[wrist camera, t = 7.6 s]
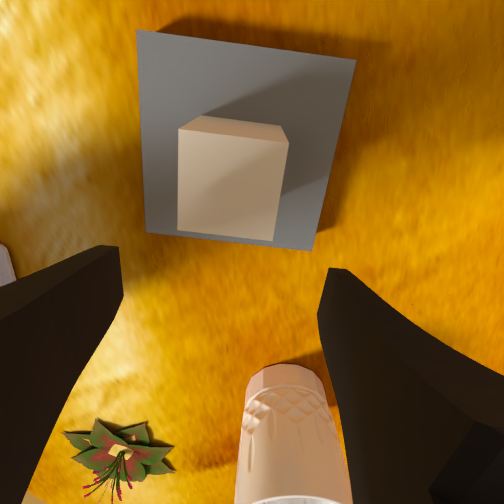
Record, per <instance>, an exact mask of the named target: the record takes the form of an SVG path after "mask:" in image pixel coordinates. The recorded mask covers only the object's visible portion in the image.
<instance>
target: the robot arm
mask: <svg viewBox="0 0 504 504" xmlns="http://www.w3.org/2000/svg"><path fill="white" fill-rule="evenodd" d="M123 297H124V294H123V285H122V276H121V266H120V257H119V248H118V247H116V246H105V245H99V246H96V247H93V248H90V249H88V250H85V251H83V252H81V253H79V254H76V255H74V256H72V257H70V258H67V259H65V260H63V261H61V262H58V263H56V264H54V265H52V266H50V267H47V268H45V269H43V270H40V271H38V272H35V273H33V274H31V275H28V276H26V277H23V278H21V279H18V280H16V277H15V273H14V270H13V266H12V263H11V259H10V256H9V252H8V250H7V248H6V247H5V246H4V245H2V244H0V504H21V503H22V501H23V498H24V495H25V493H26V491H27V488H28V486H29V484H30V481H31V479H32V476H33V474H34V472H35V469H36V467H37V464H38V462H39V460H40V457H41V455H42V453H43V450H44V448H45V446H46V444H47V441H48V439H49V437H50V435H51V433H52V430H53V428H54V426H55V424H56V421H57V419H58V417H59V415H60V413H61V411H62V409H63V407H64V405H65V403H66V401H67V398H68V396H69V394H70V392H71V390H72V388H73V387H74V385H75V383H76V381H77V379H78V378H79V376H80V374H81V373H82V371H83V369H84V368H85V366H86V365H87V363H88V361H89V360H90V358H91V356H92V355H93V353H94V352H95V350H96V348H97V347H98V345H99V344H100V342H101V340H102V339H103V337H104V335H105V334H106V332H107V330H108V329H109V327H110V325H111V324H112V322H113V320H114V318H115V316H116V313H117V311H118V309H119V306H120V304H121V302H122V299H123ZM317 319H318V328H319V335H320V341H321V345H322V348H323V352H324V356H325V360H326V363H327V367H328V370H329V374H330V378H331V381H332V385H333V388H334V392H335V396H336V400H337V404H338V408H339V413H340V419H341V425H342V431H343V437H344V443H345V450H346V456H347V463H348V470H349V477H350V485H351V493H352V501H353V504H504V376H503V375H501V374H499V373H497V372H495V371H493V370H491V369H489V368H487V367H485V366H483V365H481V364H479V363H478V362H476V361H474V360H472V359H470V358H469V357H467V356H465V355H463V354H461V353H460V352H458V351H456V350H454V349H453V348H451V347H449V346H448V345H446V344H444V343H443V342H441V341H440V340H438V339H436V338H435V337H433V336H432V335H430V334H429V333H427V332H426V331H424V330H423V329H421V328H420V327H418V326H417V325H415V324H414V323H413V322H411V321H410V320H409V319H407V318H406V317H405V316H403V315H402V314H401V313H399V312H398V311H397V310H395V309H394V308H393V307H392V306H390V305H389V304H388V303H387V302H385V301H384V300H383V299H382V298H381V297H379V296H378V295H377V294H376V293H375V292H373V291H372V290H371V289H370V288H369V287H368V286H366V285H365V284H364V283H363V282H362V281H361V280H359V279H358V278H357V277H356V276H355V275H353V274H352V273H351V272H350V271H348V270H347V269H339V268H329V269H328V273H327V277H326V281H325V285H324V289H323V292H322V296H321V300H320V304H319V308H318V312H317Z"/></svg>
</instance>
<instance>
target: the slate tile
mask: <svg viewBox="0 0 504 504" xmlns="http://www.w3.org/2000/svg"><path fill="white" fill-rule="evenodd" d="M136 35H137V57H138V79H139V100H140V122H141V144H142V166H143V187H144V209H145V231H146V232H147V233H156V234H164V235H173V236H182V237H191V238H199V239H208V240H217V241H226V242H235V243H243V244H252V245H261V246H270V247H278V248H287V249H296V250H305V251H312V248H313V244H314V239H315V235H316V231H317V227H318V222H319V218H320V214H321V210H322V206H323V201H324V197H325V193H326V189H327V184H328V180H329V176H330V172H331V167H332V163H333V159H334V155H335V150H336V146H337V142H338V138H339V134H340V129H341V125H342V121H343V117H344V112H345V108H346V104H347V100H348V95H349V91H350V87H351V83H352V79H353V74H354V70H355V66H356V62H357V60H354V59H346V58H339V57H332V56H325V55H318V54H310V53H303V52H296V51H289V50H281V49H274V48H267V47H260V46H253V45H245V44H238V43H231V42H224V41H217V40H209V39H202V38H195V37H188V36H180V35H173V34H166V33H159V32H152V31H144V30H137V29H136ZM200 115H203V116H211V117H219V118H226V119H234V120H241V121H249V122H256V123H264V124H272V125H279V126H281V127H282V129H283V132H284V134H285V136H286V138H287V140H288V142H289V146H288V152H287V158H286V164H285V170H284V176H283V182H282V188H281V194H280V200H279V205H278V211H277V217H276V223H275V229H274V235H273V241H266V240H257V239H248V238H240V237H231V236H223V235H214V234H206V233H197V232H189V231H180V230H177V221H178V129H179V128H181V127H182V126H184V125H186V124H187V123H189V122H190V121H192V120H194V119H195V118H197V117H199V116H200Z"/></svg>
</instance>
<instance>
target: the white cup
mask: <svg viewBox="0 0 504 504" xmlns="http://www.w3.org/2000/svg"><path fill="white" fill-rule="evenodd" d="M234 504H353V501H352V493H351V485H350V478H349V474H348V470H347V467H346V463H345V459H344V455H343V452H342V448H341V444H340V440H339V437H338V434H337V431H336V427H335V424H334V420H333V417H332V415H331V412H330V410H329V408H328V403H327V399H326V396H325V392H324V388H323V384H322V381H321V380H320V379H319V378H318V377H317V376H316V374H315V373H314V372H313V371H311V370H309V369H307V368H304V367H302V366H300V365H295V364H277V365H273V366H269V367H266V368H263V369H262V370H260V371H259V372H258V373H256V374H255V375H254V376H252V377H251V379H250V382H249V384H248V386H247V389H246V398H245V411H244V415H243V420H242V429H241V437H240V445H239V455H238V466H237V476H236V487H235V498H234Z"/></svg>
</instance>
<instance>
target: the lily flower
mask: <svg viewBox="0 0 504 504" xmlns="http://www.w3.org/2000/svg"><path fill="white" fill-rule="evenodd" d="M145 427H146V426H145V423H144V424H142V425H138V426H135V427H134V428H129V429H126V430H122V431H119V432H117V433H116V434H115V435H113V434H112V433H110V432H109V431H108V430H107V429H106V428H105V427H104V426H102V425H101V424H100V423H99V422H98V421H97V419H96V418H95V423H94V426H93V431H91V434H90V435H82V434H67V433H62V432H61V433H62V434H64V435H65V437H66V438H67V439H68V440H70V443H71V444H72V445H73V446H74V447H76V448H77V449H79V450H82V451H85V452H84V453H82V454H80V455H78V456H76V457H75V458H71V459H74V460H75V461H77V462H79V463H81V464H83V466H85V467H87V468H88V469H93V470H94V471H93V474H97V476H99V477H97V478H95V479H94V481H96V480H98V479H100V480H99V481H96V482H95V483H94V484H92V485H87V486H83V489H85V488H89V487H91V486H93V485H95V484H99V483H100V482H102V481H103V482H102V483H101V484H100V485H99V486H98V487H100V486H101V485H102V484H103V483H104V482H105V481H106V480H107V479H108V478H110V480H111V479H114V483H113V488H112V484H111V488H112V497H111V498H112V499H111V500H112V501H111V502H113V489H114V485H115V479H116V478H117V480H116V490H117V493H118V494H117V495H118V497H119V500H120V501H122V499H121V494H122V493H121V490H120V482H119V481H120V480H122V481H127V482H128V486H129V488H130V489H132V486H131V483H130V482H129V481H139V482H142V481H143V480H145V473H148V474H152V475H160V474H166V473H174V472H173V471H172V470H171V469H169V468H168V467H167V466H166V465H165V464H164V463H163V462H162V461H161V460H162V459H163V458H164V457H165V456H166V455H167V454H168V451H169V450H171V449H173V448H174V447H170V448H169V447H162V448H159V447H148V445H149V437H148V433H147V430H146V429H145ZM134 435H135V439H136V443H137V445H128V444H127V443H126V442H125V441H123V440H122V438H126V437H130V436H134ZM82 438H84V439H89V440H90V443H91V444H92V445H93V446H95V447H97V448H98V449H96V448H95V447H93V446H92V445H91V444H90V443H89V442H88V441H86V440H84V439H82ZM114 444H118V445H121V446H125V447H128V448H130V449H132V450H135V451H134V452H133V454H132V456H131V457H130V458H129V459H128V460H125V458H124V454H125V452H121V451H120V452H119V453H118V455H117V457H115V456H112V455H110V454H108V452H109V451H110V449H111V447H112V446H113V445H114ZM120 453H121V455H120ZM122 456H123V459H122ZM112 467H113V468H112ZM108 468H109V469H108ZM107 469H108V470H107ZM106 470H107V471H106ZM108 481H109V480H108ZM109 482H110V481H109ZM112 482H113V480H112ZM107 483H108V482H107ZM108 484H109V483H108ZM106 485H107V484H106ZM106 485H105V486H106ZM107 486H108V485H107ZM98 487H97V488H98ZM97 488H96V489H97ZM106 488H107V487H106ZM96 489H95V490H96ZM95 490H93V491H95ZM105 490H106V489H105ZM93 491H92V492H93ZM92 492H91V493H92ZM104 492H105V491H104ZM91 493H88V494H87V495H84V498H85V497H86V496H88V495H90V494H91ZM103 494H104V493H103ZM102 496H103V495H102ZM101 498H102V497H101ZM100 500H101V499H100ZM99 502H100V501H99ZM112 504H113V503H112Z"/></svg>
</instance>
